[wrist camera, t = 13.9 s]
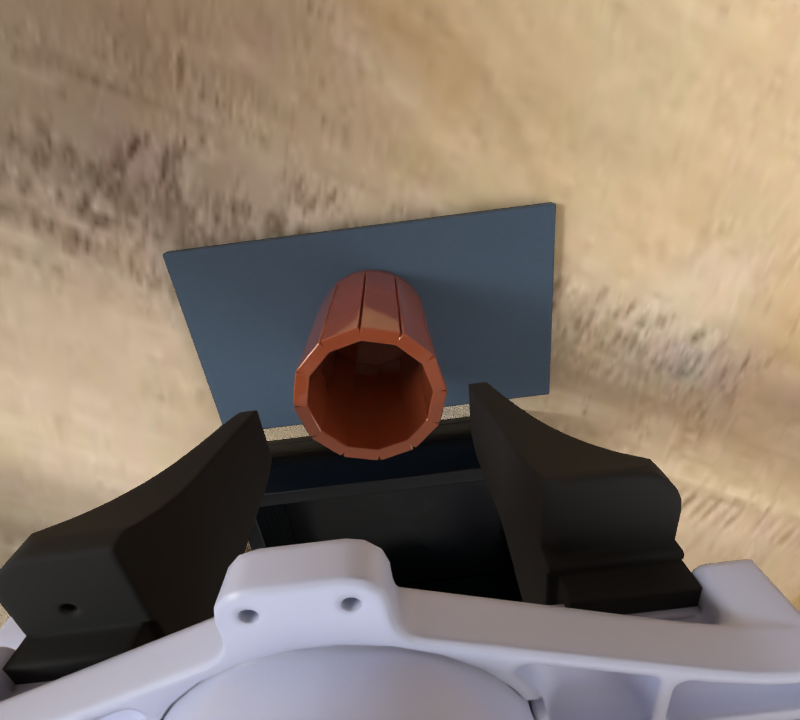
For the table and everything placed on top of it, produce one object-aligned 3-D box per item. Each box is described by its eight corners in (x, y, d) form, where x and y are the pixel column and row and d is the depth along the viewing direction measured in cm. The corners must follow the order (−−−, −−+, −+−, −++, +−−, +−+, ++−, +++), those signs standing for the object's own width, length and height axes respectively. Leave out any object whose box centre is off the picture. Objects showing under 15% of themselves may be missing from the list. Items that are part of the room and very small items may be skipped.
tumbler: (346, 381, 23) (332, 476, 17) (302, 292, 21) (265, 361, 14) (439, 347, 23) (464, 433, 16) (403, 252, 21) (415, 305, 14)
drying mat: (228, 427, 25) (225, 434, 24) (167, 251, 21) (161, 254, 20) (545, 388, 25) (549, 394, 24) (551, 201, 20) (556, 203, 20)
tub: (304, 597, 31) (293, 663, 27) (255, 442, 26) (231, 498, 21) (523, 571, 31) (544, 635, 27) (524, 409, 25) (552, 460, 21)
